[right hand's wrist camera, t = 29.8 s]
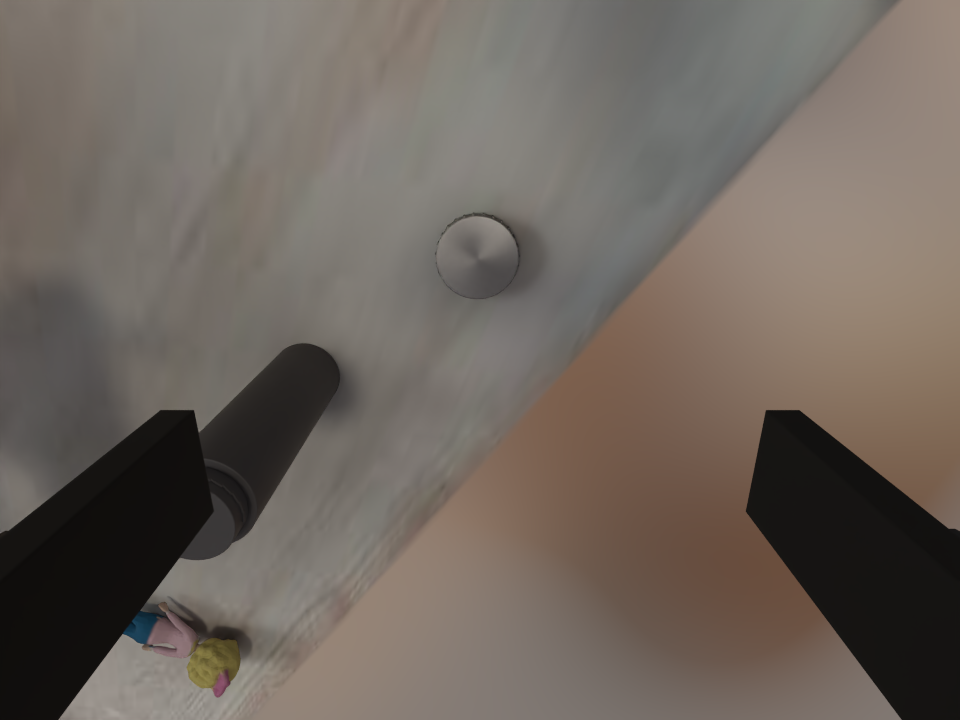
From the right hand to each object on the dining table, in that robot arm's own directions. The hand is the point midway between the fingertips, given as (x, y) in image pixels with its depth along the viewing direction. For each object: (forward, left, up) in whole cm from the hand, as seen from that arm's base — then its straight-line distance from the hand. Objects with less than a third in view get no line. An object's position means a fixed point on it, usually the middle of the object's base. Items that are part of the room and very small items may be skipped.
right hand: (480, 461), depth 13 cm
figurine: (+26, +38, -30) cm, 55 cm away
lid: (0, 0, -28) cm, 29 cm away
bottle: (+13, +11, -30) cm, 35 cm away
